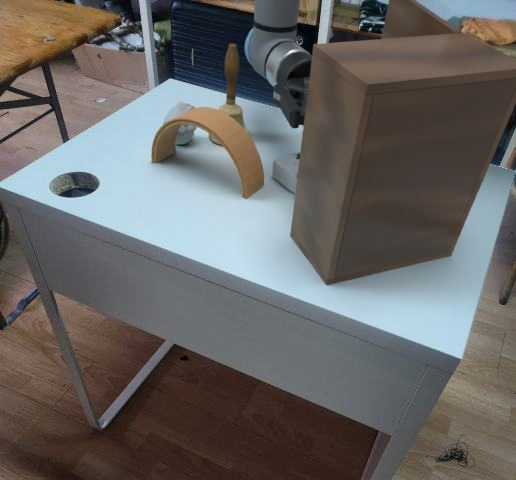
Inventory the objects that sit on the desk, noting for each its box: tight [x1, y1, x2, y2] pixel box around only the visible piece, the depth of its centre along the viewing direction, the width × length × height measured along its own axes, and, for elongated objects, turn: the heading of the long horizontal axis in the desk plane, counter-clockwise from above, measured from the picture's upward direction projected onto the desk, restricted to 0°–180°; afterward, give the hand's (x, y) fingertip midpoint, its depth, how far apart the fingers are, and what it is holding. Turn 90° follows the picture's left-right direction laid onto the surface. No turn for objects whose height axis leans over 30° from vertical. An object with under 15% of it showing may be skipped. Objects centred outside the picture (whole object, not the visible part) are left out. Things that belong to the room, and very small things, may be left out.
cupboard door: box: [380, 0, 463, 39], centre depth 79 cm, size 7×21×26 cm, turn 12°
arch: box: [150, 106, 265, 200], centre depth 83 cm, size 6×20×10 cm, turn 57°
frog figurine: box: [162, 101, 198, 145], centre depth 91 cm, size 6×7×7 cm
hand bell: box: [208, 43, 253, 146], centre depth 90 cm, size 8×8×16 cm
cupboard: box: [289, 32, 516, 286], centre depth 65 cm, size 12×21×26 cm, turn 112°
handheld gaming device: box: [271, 151, 301, 195], centre depth 86 cm, size 9×15×4 cm, turn 125°
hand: (365, 136), depth 69 cm, fingers closed on milk carton, 8 cm apart
